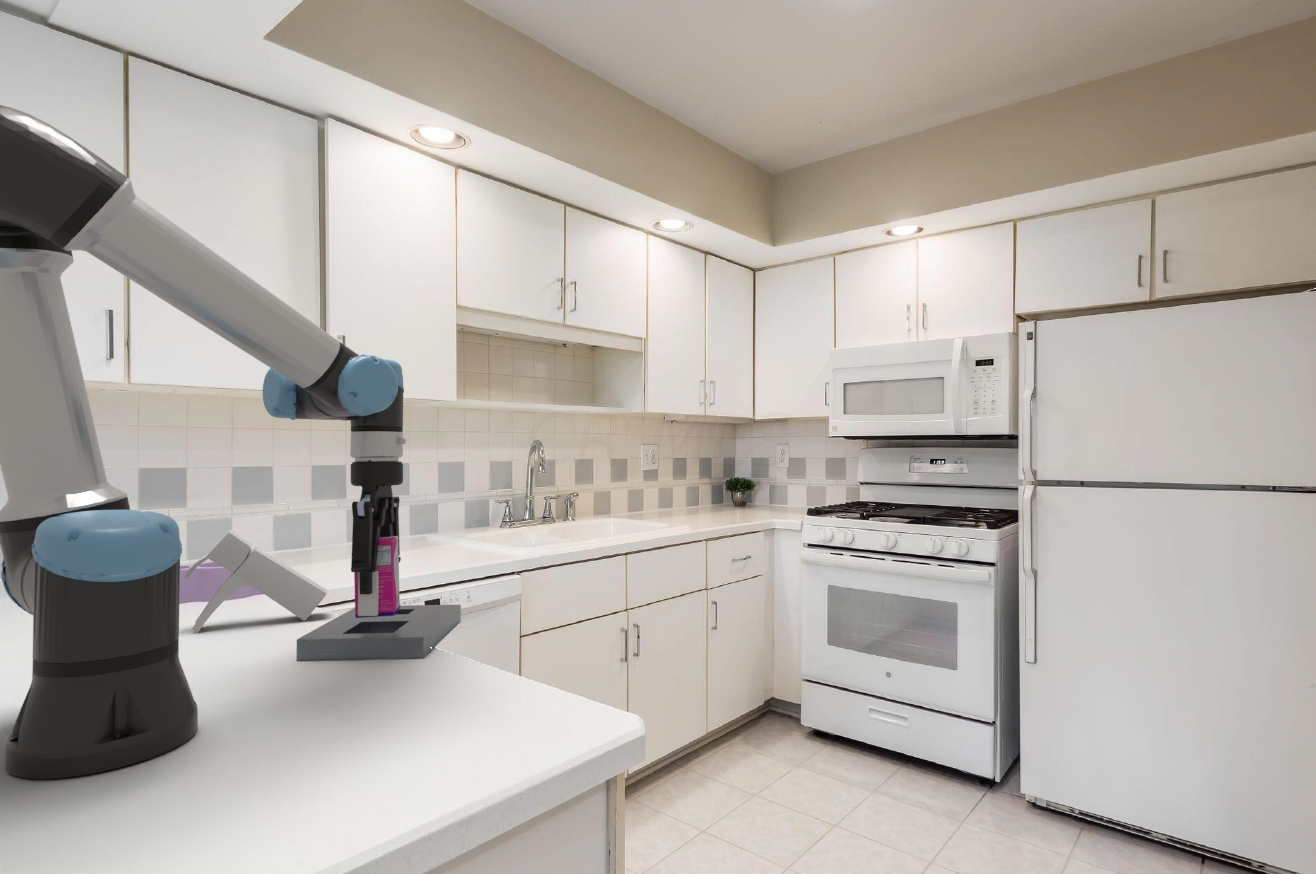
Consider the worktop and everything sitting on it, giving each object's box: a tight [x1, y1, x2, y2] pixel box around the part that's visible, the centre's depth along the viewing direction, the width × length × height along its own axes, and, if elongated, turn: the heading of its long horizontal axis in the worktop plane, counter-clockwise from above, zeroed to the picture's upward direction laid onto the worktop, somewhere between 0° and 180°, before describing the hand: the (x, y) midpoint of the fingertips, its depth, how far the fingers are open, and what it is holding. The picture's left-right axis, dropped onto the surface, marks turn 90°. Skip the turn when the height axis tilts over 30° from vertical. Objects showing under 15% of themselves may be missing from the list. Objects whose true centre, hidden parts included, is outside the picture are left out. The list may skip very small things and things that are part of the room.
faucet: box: [184, 529, 328, 634], centre depth 121 cm, size 6×16×20 cm
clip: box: [179, 561, 264, 605], centre depth 146 cm, size 20×12×7 cm, turn 128°
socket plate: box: [296, 604, 462, 662], centre depth 111 cm, size 22×18×3 cm
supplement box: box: [353, 536, 401, 618], centre depth 106 cm, size 6×6×12 cm
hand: (376, 609), depth 106 cm, fingers closed on supplement box, 6 cm apart
